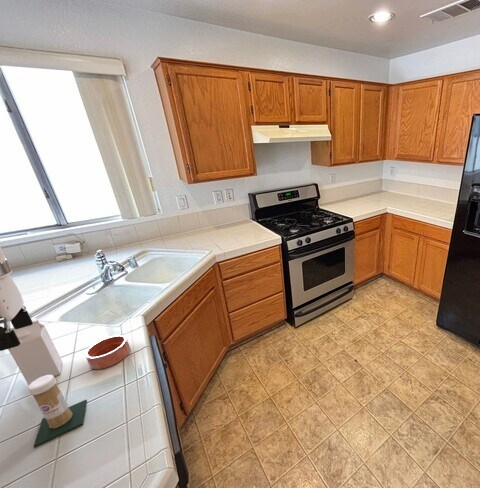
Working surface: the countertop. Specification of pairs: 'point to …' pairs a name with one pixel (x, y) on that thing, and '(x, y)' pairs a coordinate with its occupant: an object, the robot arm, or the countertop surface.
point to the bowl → (107, 352)
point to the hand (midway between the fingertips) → (17, 336)
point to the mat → (75, 422)
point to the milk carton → (35, 353)
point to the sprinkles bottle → (50, 401)
